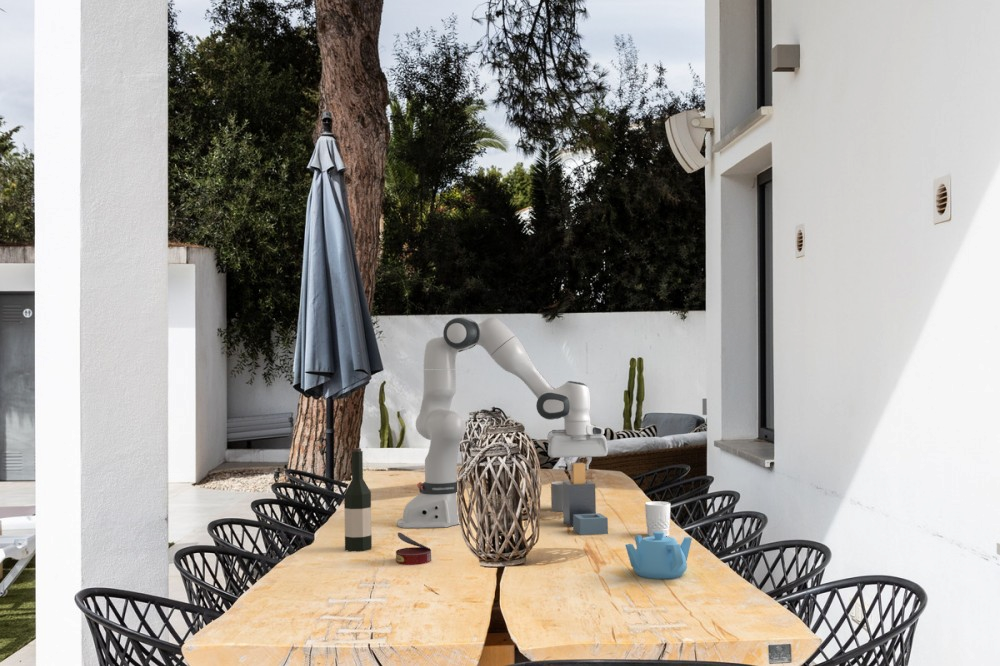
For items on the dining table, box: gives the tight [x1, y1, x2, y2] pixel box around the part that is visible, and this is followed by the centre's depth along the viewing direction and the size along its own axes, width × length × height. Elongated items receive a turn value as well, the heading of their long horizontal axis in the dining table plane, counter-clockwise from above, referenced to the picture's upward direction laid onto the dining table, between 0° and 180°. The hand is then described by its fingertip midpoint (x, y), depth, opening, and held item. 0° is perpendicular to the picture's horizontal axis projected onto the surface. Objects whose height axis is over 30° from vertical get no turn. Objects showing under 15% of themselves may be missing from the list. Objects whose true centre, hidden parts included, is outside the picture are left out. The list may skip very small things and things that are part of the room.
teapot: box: [625, 532, 693, 580], centre depth 239 cm, size 15×15×11 cm
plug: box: [570, 462, 586, 484], centre depth 312 cm, size 4×4×7 cm
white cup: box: [644, 500, 671, 537], centre depth 290 cm, size 8×8×10 cm
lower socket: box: [572, 512, 609, 536], centre depth 298 cm, size 9×9×5 cm
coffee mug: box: [550, 480, 564, 513], centre depth 342 cm, size 13×10×10 cm
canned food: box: [395, 532, 432, 566], centre depth 260 cm, size 11×10×10 cm
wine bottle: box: [343, 447, 373, 552], centre depth 278 cm, size 8×8×30 cm
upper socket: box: [562, 479, 597, 528], centre depth 312 cm, size 9×9×14 cm
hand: (578, 470), depth 312 cm, fingers closed on plug, 4 cm apart
